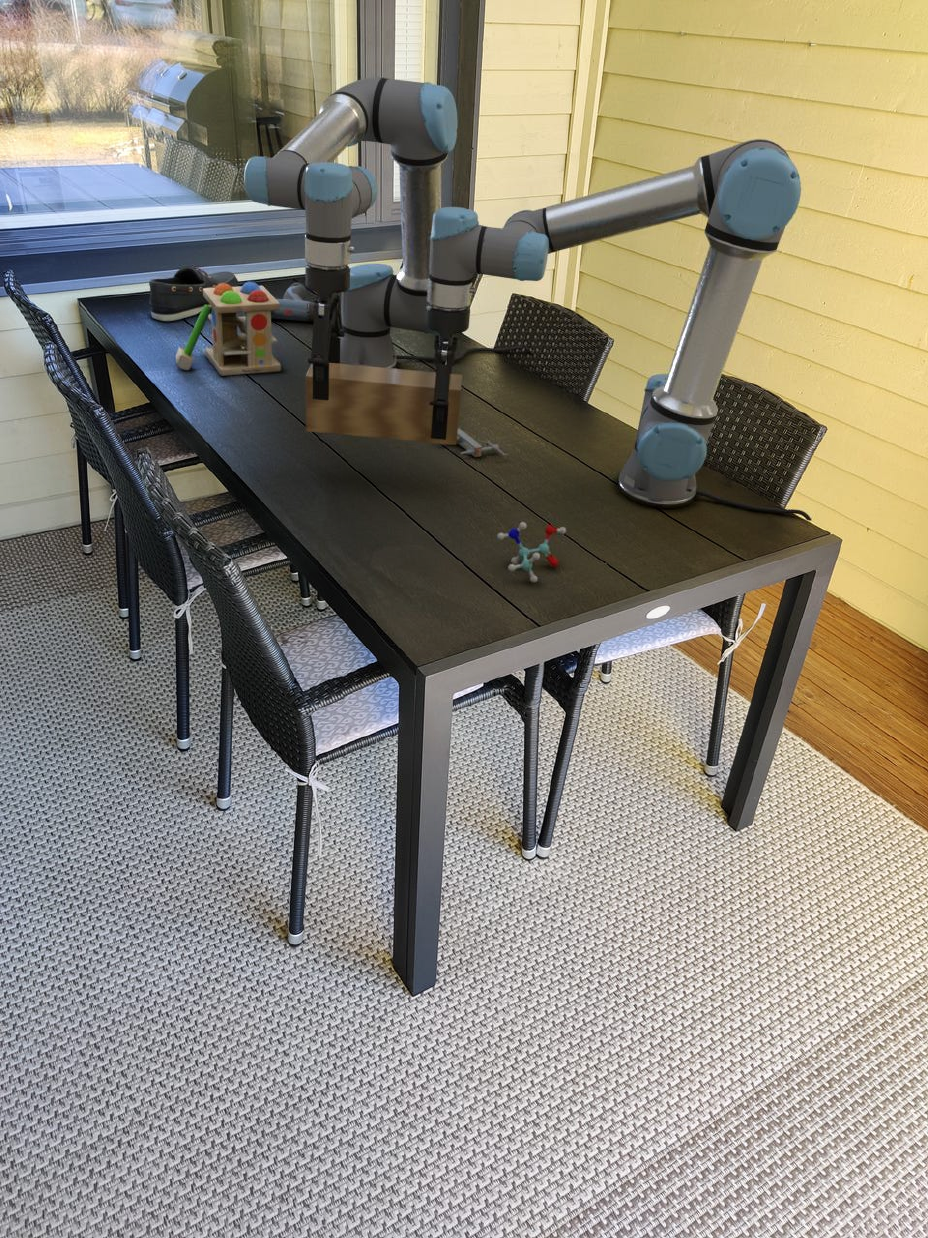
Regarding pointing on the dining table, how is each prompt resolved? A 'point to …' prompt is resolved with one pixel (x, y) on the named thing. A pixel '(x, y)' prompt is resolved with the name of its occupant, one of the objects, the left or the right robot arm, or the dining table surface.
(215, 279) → the boat shoe
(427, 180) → the left robot arm
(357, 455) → the dining table surface
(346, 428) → the box
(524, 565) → the molecular model
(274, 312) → the power drill
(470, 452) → the clamp
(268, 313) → the pounding bench toy
